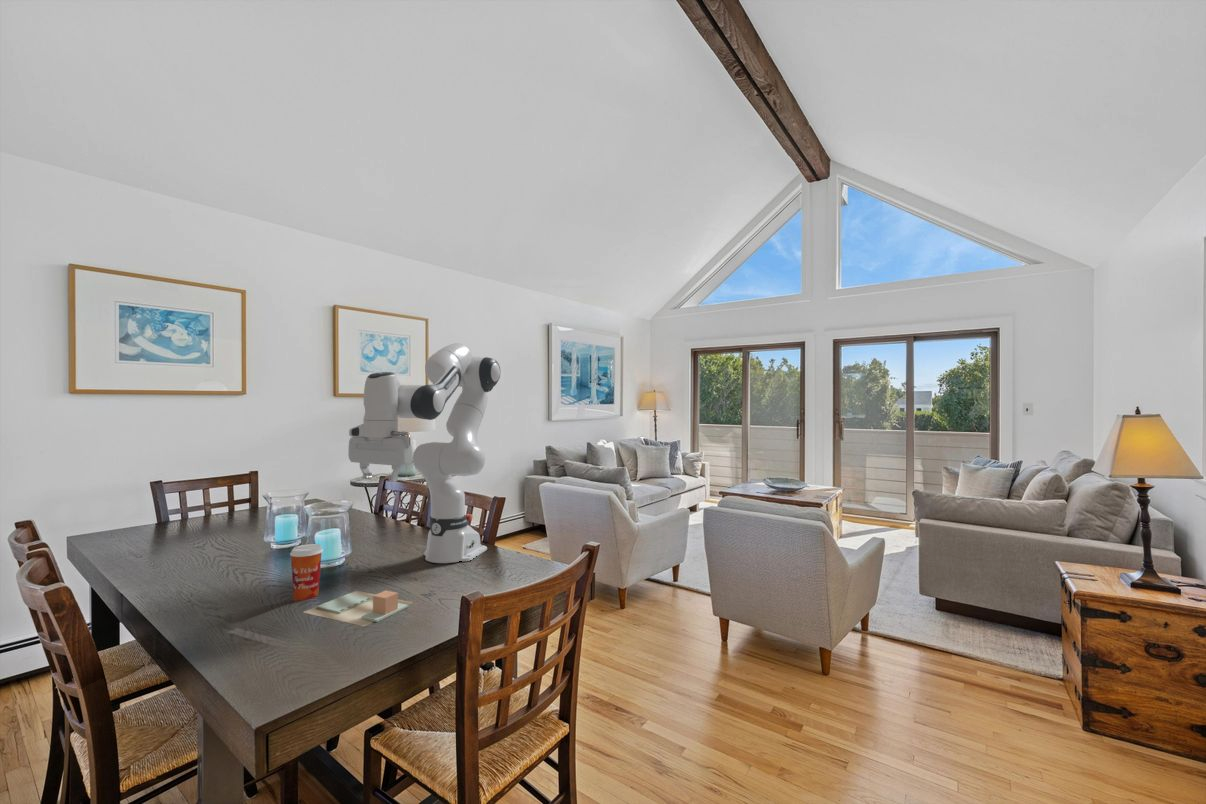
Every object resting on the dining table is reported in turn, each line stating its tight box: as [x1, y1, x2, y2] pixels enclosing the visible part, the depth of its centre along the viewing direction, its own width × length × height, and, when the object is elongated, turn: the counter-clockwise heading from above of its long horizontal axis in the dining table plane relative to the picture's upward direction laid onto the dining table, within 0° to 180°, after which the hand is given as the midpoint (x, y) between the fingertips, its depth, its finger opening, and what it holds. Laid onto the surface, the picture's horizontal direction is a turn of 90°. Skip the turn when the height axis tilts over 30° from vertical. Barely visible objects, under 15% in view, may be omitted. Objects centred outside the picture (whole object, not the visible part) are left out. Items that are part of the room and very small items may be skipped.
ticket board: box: [303, 590, 414, 627], centre depth 133 cm, size 16×20×2 cm
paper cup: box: [289, 543, 324, 602], centre depth 140 cm, size 8×8×14 cm
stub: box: [361, 589, 409, 623], centre depth 129 cm, size 10×5×4 cm, turn 157°
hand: (380, 480), depth 146 cm, fingers open, 8 cm apart
